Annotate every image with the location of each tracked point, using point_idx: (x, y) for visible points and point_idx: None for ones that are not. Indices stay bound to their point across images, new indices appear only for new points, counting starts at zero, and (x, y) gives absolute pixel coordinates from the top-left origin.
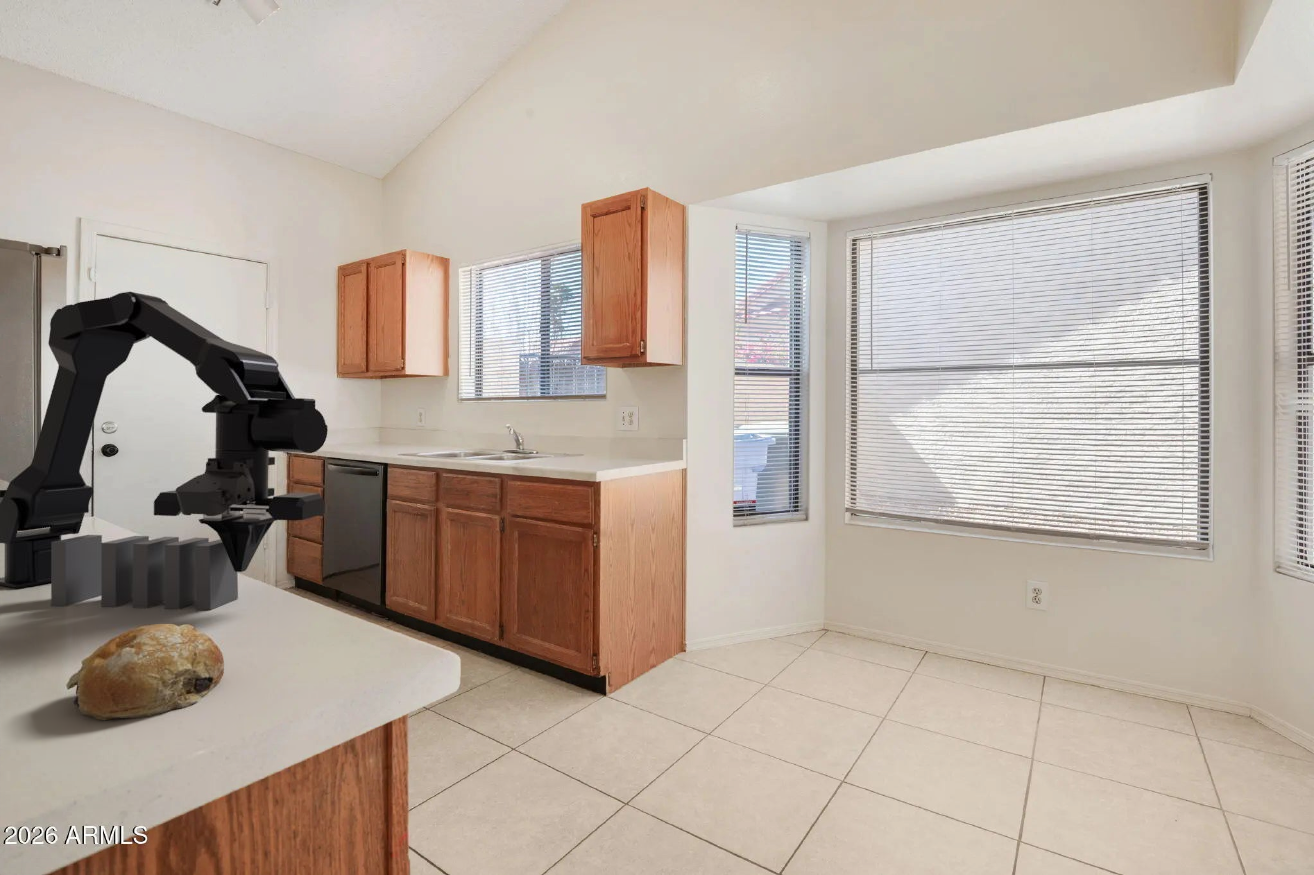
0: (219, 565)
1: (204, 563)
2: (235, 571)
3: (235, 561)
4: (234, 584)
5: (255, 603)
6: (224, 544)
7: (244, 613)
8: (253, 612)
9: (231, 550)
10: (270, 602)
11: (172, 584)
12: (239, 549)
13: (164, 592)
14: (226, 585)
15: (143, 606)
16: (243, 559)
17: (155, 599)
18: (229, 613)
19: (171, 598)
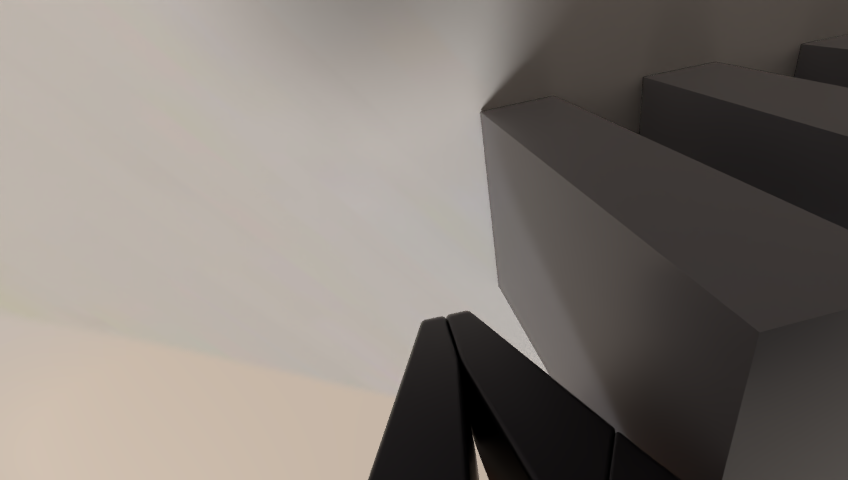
0: (587, 297)
1: (664, 205)
2: (464, 312)
3: (467, 355)
4: (524, 312)
5: (368, 263)
6: (635, 459)
7: (265, 121)
8: (238, 149)
9: (524, 421)
10: (316, 295)
11: (784, 94)
12: (438, 457)
13: None
14: (524, 266)
15: (828, 42)
16: (399, 388)
17: None
18: (341, 96)
19: (721, 78)
